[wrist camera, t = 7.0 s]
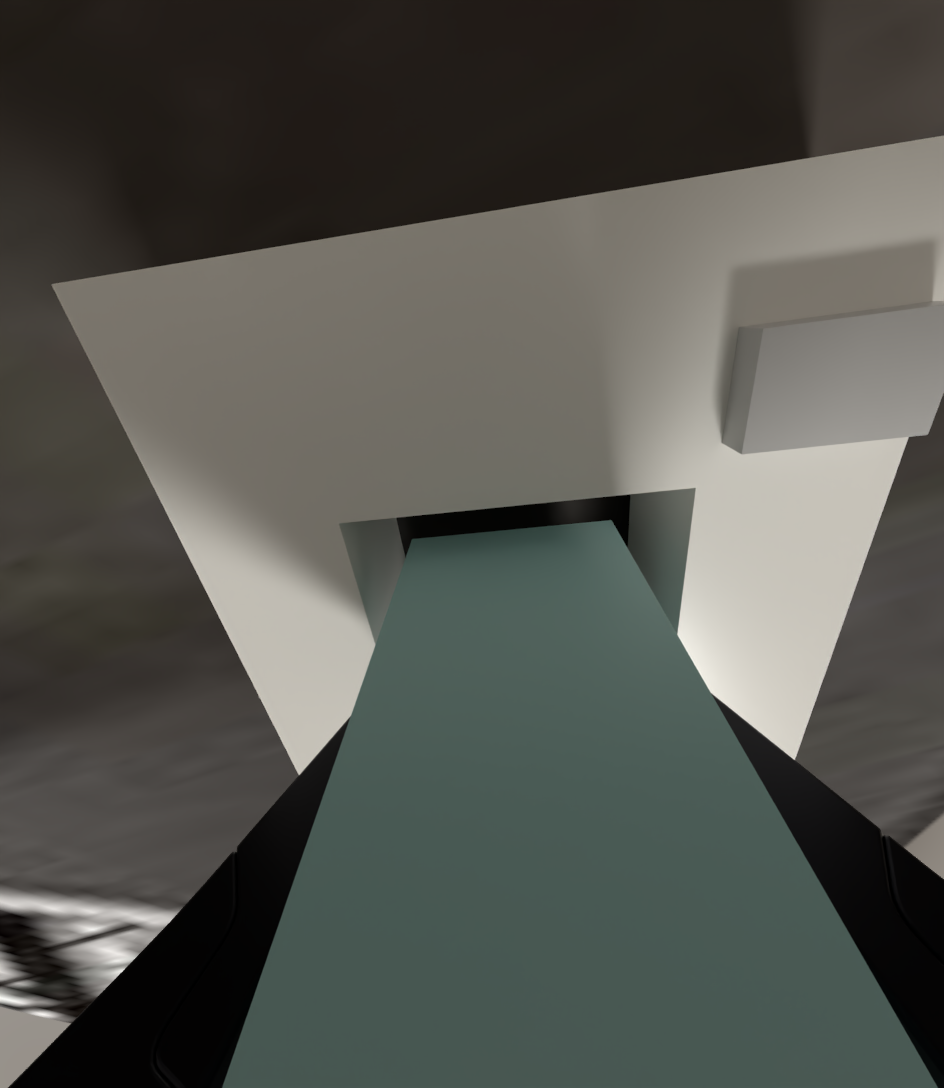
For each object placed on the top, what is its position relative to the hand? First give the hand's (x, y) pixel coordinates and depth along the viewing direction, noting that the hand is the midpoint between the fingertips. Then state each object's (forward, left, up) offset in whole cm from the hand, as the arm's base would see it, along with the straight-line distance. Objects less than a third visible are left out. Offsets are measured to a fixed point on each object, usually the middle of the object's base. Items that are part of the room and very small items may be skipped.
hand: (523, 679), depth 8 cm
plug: (0, 0, -2) cm, 2 cm away
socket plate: (0, 0, -4) cm, 4 cm away
